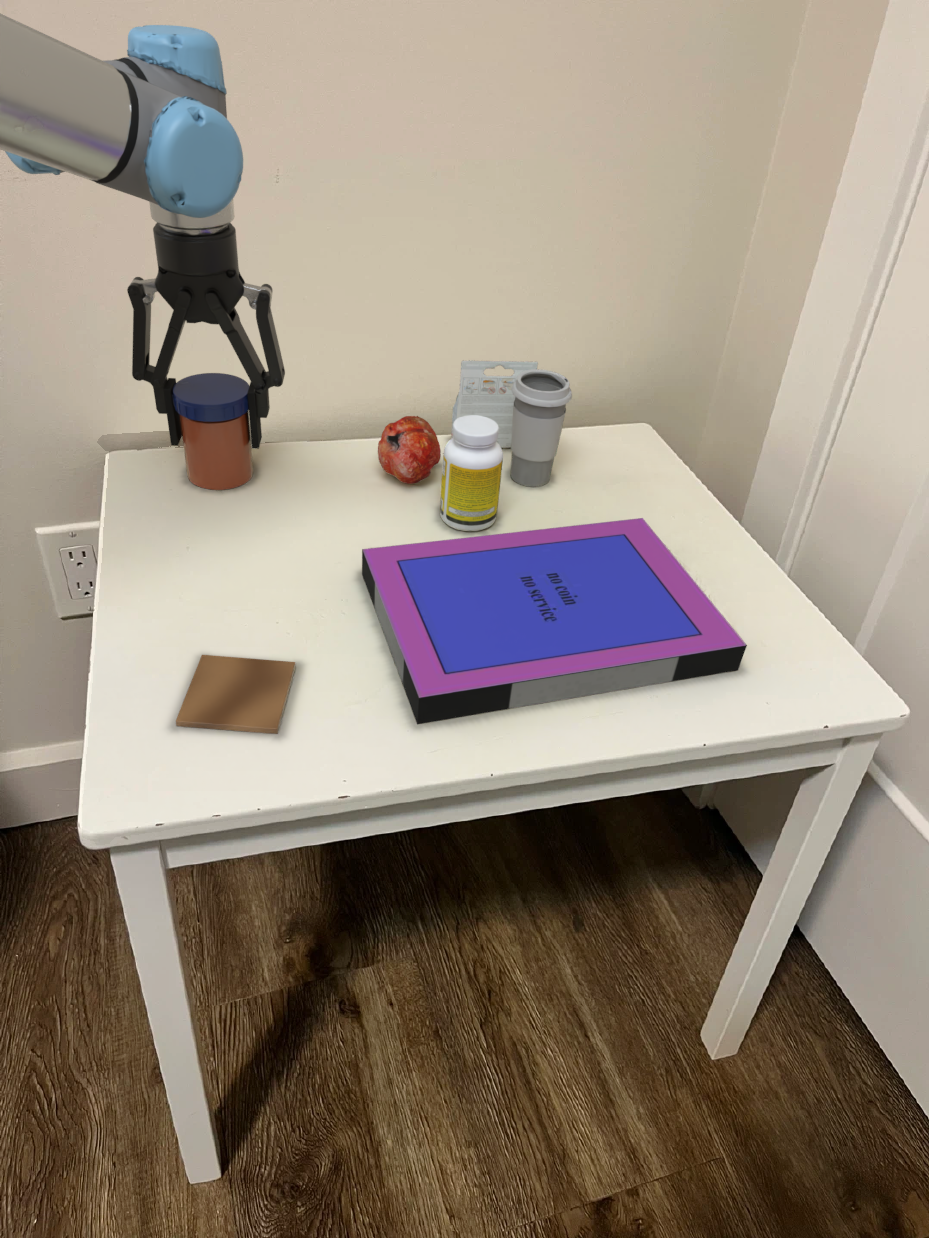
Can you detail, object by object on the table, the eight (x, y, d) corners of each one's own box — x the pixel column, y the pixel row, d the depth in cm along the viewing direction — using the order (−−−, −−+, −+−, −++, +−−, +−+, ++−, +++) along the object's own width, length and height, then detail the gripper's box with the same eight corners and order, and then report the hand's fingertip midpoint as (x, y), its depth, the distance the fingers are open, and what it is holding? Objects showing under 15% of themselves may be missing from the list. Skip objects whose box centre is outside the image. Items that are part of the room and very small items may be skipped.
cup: (566, 491, 105) (582, 394, 97) (510, 494, 103) (523, 395, 96) (547, 460, 110) (562, 366, 103) (494, 463, 109) (505, 367, 101)
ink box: (449, 439, 113) (456, 350, 105) (523, 439, 114) (534, 351, 107) (452, 450, 110) (459, 360, 103) (527, 450, 112) (539, 361, 105)
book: (362, 549, 88) (642, 517, 96) (361, 574, 89) (637, 541, 98) (418, 697, 72) (746, 645, 80) (417, 724, 74) (738, 670, 82)
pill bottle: (507, 524, 98) (519, 431, 92) (460, 539, 96) (468, 444, 89) (474, 497, 102) (483, 406, 95) (428, 511, 99) (433, 418, 92)
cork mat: (176, 726, 72) (175, 720, 72) (202, 659, 78) (201, 654, 78) (277, 734, 72) (277, 728, 72) (295, 667, 78) (295, 661, 78)
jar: (179, 487, 99) (168, 406, 93) (196, 455, 105) (187, 376, 99) (245, 492, 100) (238, 411, 94) (259, 460, 105) (253, 382, 99)
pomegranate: (400, 472, 110) (346, 444, 102) (436, 422, 108) (384, 390, 100) (435, 506, 106) (381, 480, 98) (473, 455, 104) (422, 424, 96)
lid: (261, 394, 100) (260, 377, 99) (237, 426, 94) (236, 409, 93) (190, 385, 100) (188, 368, 99) (162, 416, 94) (159, 399, 93)
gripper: (308, 218, 89) (315, 429, 104) (90, 204, 87) (127, 421, 102) (302, 241, 84) (310, 461, 98) (68, 228, 82) (111, 454, 96)
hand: (217, 441), depth 100 cm, fingers closed on lid, 8 cm apart
